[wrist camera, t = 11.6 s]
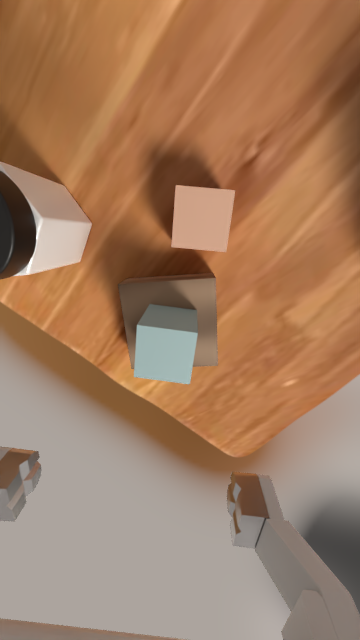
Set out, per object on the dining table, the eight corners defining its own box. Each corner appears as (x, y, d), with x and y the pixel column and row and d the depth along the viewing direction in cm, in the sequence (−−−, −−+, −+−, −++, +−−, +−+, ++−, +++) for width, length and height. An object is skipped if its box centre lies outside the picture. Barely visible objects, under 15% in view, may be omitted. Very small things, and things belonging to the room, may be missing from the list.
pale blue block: (149, 304, 25) (136, 325, 19) (196, 310, 25) (197, 333, 19) (146, 346, 27) (133, 376, 21) (190, 352, 27) (189, 384, 21)
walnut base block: (127, 277, 28) (117, 284, 25) (212, 272, 28) (215, 277, 24) (138, 353, 32) (131, 369, 28) (214, 349, 31) (217, 365, 27)
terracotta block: (178, 194, 25) (175, 185, 20) (226, 198, 25) (235, 190, 20) (174, 244, 26) (171, 247, 22) (220, 248, 26) (226, 252, 22)
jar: (-2, 213, 26) (-149, 198, 15) (50, 164, 24) (-73, 103, 13) (55, 281, 28) (-35, 312, 17) (107, 240, 27) (44, 245, 15)
